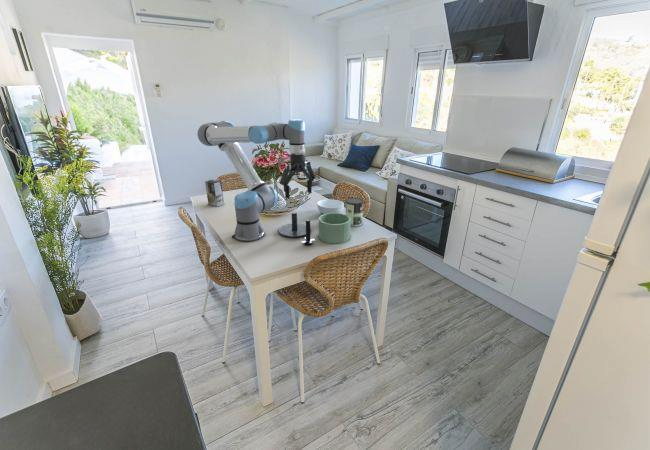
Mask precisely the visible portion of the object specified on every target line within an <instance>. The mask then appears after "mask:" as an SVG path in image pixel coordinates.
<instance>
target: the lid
mask: <svg viewBox="0 0 650 450" xmlns="http://www.w3.org/2000/svg"><path fill="white" fill-rule="evenodd" d="M311 230H312V229H311V228H310V232H311ZM278 233H279V234H280V235H281V236H283V237H286V238H287V237H288V238H302V237H306V223H299V222H298V212H297V211H292V212H291V223H286V224H283V225H282V226H280V227H279V229H278Z"/></svg>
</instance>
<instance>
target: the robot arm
mask: <svg viewBox="0 0 650 450" xmlns="http://www.w3.org/2000/svg"><path fill="white" fill-rule="evenodd" d="M196 134H197V138H198V141H199V142H200V143H201V144H202V145H203V146H206V147H214V146H217V147H218V149H219V150H220V152H224V153H225V154H226V155H227V157H228V159H229V161H230V163H231V165H232V166H233V167H234V169H235V170H236V172H237V174H238V175H239V177H240V179H241V180H242V181H243V184H244V185H245V187H246V188H247V190H244V191H241V192H238V193H237V194H236V195H235V196H234V205H233V206H234V212H235V218H236V219H235V220H236V225H235V229H234V234H233V235H231V238H232V239H233V238H234V239H236V240H237V241H240V242H254V241H258V240H260V239H262V238H263V237H264V235H265V231H264V229H263V226H262V224H261V221H260V214H261V213H263V212H266V211H267V210H270V209H272V208H274V206H276V205H277V203H278V199H279V197H278V192H277V190H276V189H275V187H272V186H269V185H268V184H267V182H266V181H263V180H262V179H261V178H260V176H259V175H258V173H257V171H256V170H255V168H254V166H253V165H252V163H251V161H250V160H249V158H248V157H247V155H246V154H245V152H244V150H243V148H242V147H241V145H240V144H249V143H251V144H256V145H258V144H259V145H260V144H264V143H265V144H266V143H269V142H275V141H279V140H280V141H281V140H284V141H286V140H287V141H288V144H289V145H288V147H289V149H288V150H289V162H290V164H284V170H283V172H282V175H281V178H280V181H279V185H281V186H283V192H284V197H285V198H286V199H290V198H291V197H290V185H289V184H290V182H291V180H292V178H293V177H294V175H295V174H298V173H303V175H304V176H305V177H306V178H307V180H306V188H307V190H306V193H308V194H312V187H313V182H314V181H315V180H316V179H317V178H316V175H315V173H314V170H313V168H312V165H311V161H308V160H306V127H305V121H304V120H303V119H289V120H288V122H287V123H283V122H282V123H281V122H270V123H268V124H263V125H241V126H240V125H239V126H236V125H235V124H234V123H233V122H231V121H225V120H222V121H215V122H206V123H203V124H201V125H200V126H199V128H198V130H197V133H196ZM305 167H306V168H305Z"/></svg>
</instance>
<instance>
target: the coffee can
mask: <svg viewBox="0 0 650 450" xmlns="http://www.w3.org/2000/svg"><path fill="white" fill-rule="evenodd" d="M363 212H364V200H363V198H359V197H348V198H346V199H345V213H344V214H345V215H347V216H349V217H350V219H351V222H350V227H359V226H361V225H363Z"/></svg>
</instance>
